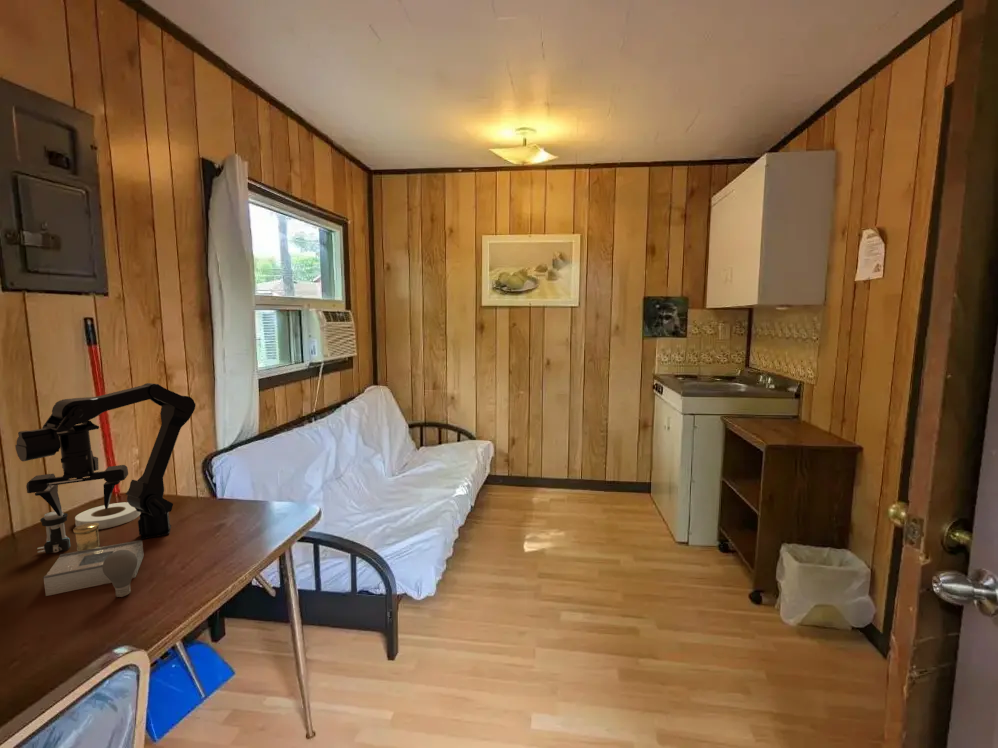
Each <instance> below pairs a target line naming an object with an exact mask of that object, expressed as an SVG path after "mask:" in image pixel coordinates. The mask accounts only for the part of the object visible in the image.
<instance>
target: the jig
mask: <svg viewBox="0 0 998 748" xmlns="http://www.w3.org/2000/svg"><path fill="white" fill-rule="evenodd" d="M143 546H144V545H143V539H139V540H132V541H127V542H123V543H122V542H121V543H116V544H109V545H105V546H100V547H99V548H93V549H87V550H82V551H72V552H64V553H60V554H59V557H58V558H57V560H56V561H55V563H53V565H52V566H51V568H50V569H49V571H47V573H46V574H45V575H44V576H43V583H44V592H45V597H47V596H52V595H57V594H62V593H66V592H67V593H68V592H72V591H76V590H81V589H82V590H83V589H85V588H91V587H97V586H101V585H107V584H111V583H112V581H111V580H110V579H109V578H108V577H107V576H106V575H105V574H104V572H103V568H102V567H103V563H104V561H105V559H106V558H107V557H108V556H109V555H110V554H111V553H113V552H115V551H118V550H128V551H131V552H132V553H134V554H135V556H136V557H137V567H136V568H135V571H134V572H133V574H132V579H135V578H137V574H138V573H139V569H140V568H141V564H142V561H143V559H144V556H145V555H144V547H143Z"/></svg>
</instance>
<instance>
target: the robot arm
mask: <svg viewBox="0 0 998 748" xmlns="http://www.w3.org/2000/svg"><path fill="white" fill-rule="evenodd" d="M148 400H150V401H152V402H153V403H154V404H156V405H158V406H160V407H161V409H160V420H161V421H160V422H161V425H160V428H159V431H158V432H157V433H158V434H157V436H156V440H155V441H154V443H153V447H152V449H151V452H150V455H149V457H148V460H147V463H146V465H145V467H144V468H145V469H144V471H143V474H142V475H141V476H140V477H139V478H138V479H137V480H136V479H131V481H130V483H129V487H128V490H127V491H126V493H125V495H127V498H126V502H128V503H129V505H130V506H132V507H135V509H136V510H137V512H141V514H140V515H139V517H138V520H137V526H138V534H139V536H140V540H144V539H150V538H156V537H161V536H166V535H169V534H170V532H171V528H172V524H171V523H170V512H172V510H173V507H174V506H173V505H174V503H173V502H171V501H169V500H167V499H165V498H164V492H165V484H164V476H165V473H166V470H167V468H168V465H169V462H170V459H171V456H172V454H173V451H174V448H175V445H176V442H177V440H178V437H179V434H180V433H181V429H182V428H183V427H184V426H185V425H186V424H187V422H189V420H190V419H191V417H192V416H193V413H194V412H195V410H196V402H195V400H194V399H193V398H192V397H191V396H189V395H188V396H187V395H181V394H179V393H177V392H174V391H172V390H170V389H167V388H165V387H164V386H163V385H161V384H159V383H152V382H151V383H149V382H148V383H147V382H146V383H144V384H142V385H137V386H134V387H130V388H127V389H122V390H118V391H113V392H110V393H106V394H101V395H97V396H90V397H86V396H85V397H75V398H73V397H72V398H64V399H60V400H58V401H57V402H55V403H54V405H53V407H52V410H51V415H50V416H49V417H48V418H47V420H46V421H45V422H44V424H43V425H42V427H41V428H36V429H32V430H19V431H18V432H17V433H18V434H17V435H18V437H17V439H16V444H15V445H14V446H15V452H16V455H17V457H18V459H19V460H20V461H21V462H27V461H33V460H36V459H42V458H47V457H51V456H55V455H56V453H57V452H60V455H61V458H60V463H61V468H62V471H63V472H62V473H63V474H62V475H61V476H56V475H55V473H48V474H47V473H46V474H39V475H34V476H33V477H32V478H31V479H30V480H28V481H27V483H26V486H25V487H26V488H25V489H26V493H27V494H32V493H33V494H34V495H35V496H37V497H38V496H40V497H41V498H42V499H43V500H44V501H45V502H46V503H47V504H49V506H50V507H51V508H52V509H53V511H55V512H56V513H57V515H58V516H61V515H62V511H63V510H62V504H61V502H60V495H59V493H58V492H59V489H58V488H59V486H60V485H67V484H72V483H73V484H75V483H80V482H81V483H82V482H89V481H95V480H96V481H97V480H104V482H105V483H103V505H105V509H107V508H108V506H109V504H110V502H111V498H112V495H113V491H114V489H115V486H116V485H117V486H118V485H119V484H120V483H121V482H122V481H125V480H126V478H127V477H128V476H129V469H128V466H127V465H125V464H119V465H112V466H110V465H109V466H108V467H106V468H105V470H101V471H100V470H99V457H97V456H94V454H93V450H92V447H91V446H92V445H91V443H92V442H91V437H90V431H94V430H99V428H100V426H99V425H97V424H95V423H93V422H92V421H91V420H92V419H95V418H96V417H99V416H100V415H101V414H103V413H105V412H108V411H111V410H115V409H119V408H121V407H122V408H123V407H127V406H129V405H133V404H137V403H141V402H144V401H148ZM98 470H99V471H98Z"/></svg>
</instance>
